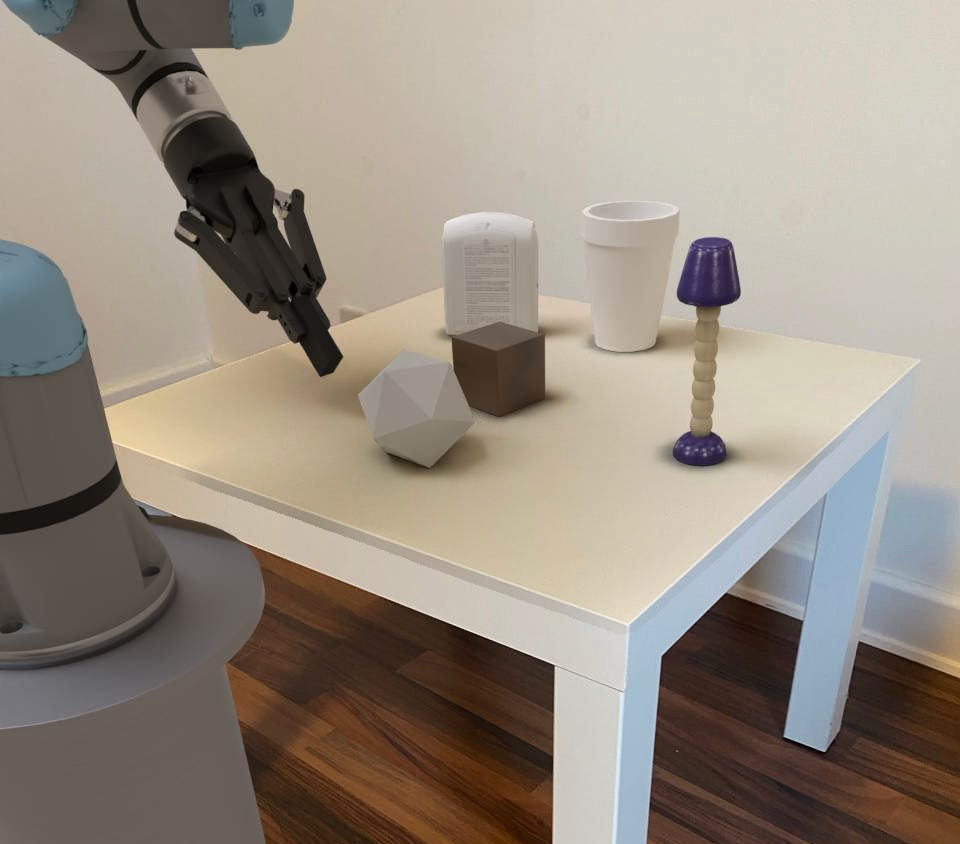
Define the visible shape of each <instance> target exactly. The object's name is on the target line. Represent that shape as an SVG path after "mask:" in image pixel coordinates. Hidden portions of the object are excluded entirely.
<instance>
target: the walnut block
mask: <svg viewBox="0 0 960 844" xmlns="http://www.w3.org/2000/svg"><path fill="white" fill-rule="evenodd" d="M451 353H452V368H453V370H454V373H455V375H456V377H457V380H458V382H459V384H460V387H461V389H462V391H463V394H464V396H465V398H466V400H467V403H468V405H469V407H472V408H475V409H477V410H480V411H483V412H485V413H488V414H490V415H494V416H497V417H501V416H504V415H506V414H509V413H512V412H515V411H517V410H519V409H521V408H524V407H526V406H530V405H532V404H534V403H538V402H539V401H542V400H544V399H546V334H545V333H541V332H539V331H538V332H535V331H531V330H528V329H524V328H521V327H517V326H514V325H510V324H507V323H503V322H496V323H493V324H490V325H487V326H484V327H481V328H478V329H475V330H472V331H468V332H465V333H462V334H459V335H452V336H451Z"/></svg>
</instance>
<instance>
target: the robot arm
mask: <svg viewBox="0 0 960 844" xmlns="http://www.w3.org/2000/svg"><path fill="white" fill-rule="evenodd" d="M1 1H2V3H3V4H4V5H5V7H6V8H7V9H8V10H9V12H11V13H12V14H14V15H15V16H16V17H17V18H19V19H20V20H21V21H23V22H24V23H25V24H26V25H28V26H29V28H30V29H32V31H33V32H34V33H35V34H36V35H38V36H41V37H43V38H44V39H47V40H48V41H50V42H51V43H53V44H55V45H56V46H57V47H59V48H60V49H62V50H64V51H65V52H67V53H69V54H70V55H72V56H74V57H75V58H76V59H78V60H79V61H81V62H83V63H84V64H85V65H86V66H89V67H90V68H91V69H92V70H94V71H95V72H97V74H100V75H101V76H103V77H105V79H107V80H109V81H110V82H111V83H112V84H113V85H114V86H115V87H116V88H117V90H118V91H119V92H120V94H121V95H122V97H123V100H124V101H125V102H126V104H127V106H128V107H129V109H130V111H131V112H132V114H133V116H134V117H135V119H136V121H137V123H138V124H139V126H140V128H141V130H142V131H143V133H144V135H145V136H146V138H147V140H148V142H149V144H150V145H151V147H152V149H153V150H154V152H155V154H156V156H157V158H158V159H159V161H160V162H161V163H162V164H163V166H164V168H165V170H166V172H167V174H168V175H169V178H170V179H171V181H172V182H173V184H174V186H175V187H176V190H177V191H178V192H179V194H180V196H181V197H182V198H183V200H185V208H186V210H182V211H180V212H179V215H178V218H177V222H176V225H175V228H174V232H173V234H174V237H175V238H176V239H177V240H178V241H180V242H181V243H183V244H185V245H186V246H188V247H189V248H191V249H192V250H193V251H195V252H196V253H197V254H198V255H199V257H200V258H201V259H202V260H203V261H204V262H205V263H206V264H207V266H208V267H209V268H210V269H211V270H212V271H213V273H215V275H216V276H217V277H218V278H219V279H220V280H221V281H222V282H223V284H225V286H226V287H227V288H228V289H229V290H230V291H231V293H232V294H234V296H235V298H237V299H238V300H239V301H240V303H241V304H242V305H243V306H244V307H245V308H246V309H247V311H248V312H250V313H251V314H254V315H258V314H260V313H261V312H267V314H266V317H267V319H269V320H271V321H278V322H279V323H278V324H279V325H280V327H281V328H282V330H283V331H284V333H285V335H286V336H287V338H288V339H289V341H291V343H292V344H293V345H295V344H299V345H300V347H301V348H302V350H303V352H304V353H305V354H306V356H307V358H308V360H309V362H310V363H311V365H312V366H313V368H314V371H315V372H316V373H317V375H318V377H319V378H322V377H325V376H328V375H331V374H334V373H335V371H336V370H337V368H338V366H339V365H340V363H341V362H342V360H343V358H344V355H343V354H342V352H341V350H340V348H339V347H338V345H337V344H336V342H335V340H334V338H333V337H332V335H331V333H330V331H329V330H330V328H331V321H330V318H329V317H328V316H327V313H326V312H325V310H324V309H323V307H322V305H321V304H320V302H319V300H318V297H319V294H320V293H321V292H322V289H323V287H324V285H325V283H326V282H327V275H326V272H325V269H324V266H323V263H322V261H321V258H320V254H319V252H318V249H317V246H316V243H315V240H314V237H313V234H312V230H311V228H310V225H309V222H308V219H307V215H306V213H305V199H306V198H305V197H306V196H305V193H304V192H303V191H302V190H301V189H299V188H293V190H291V192H290V193H288V192H285V191H282V190H279V189H277V188H275V185H274V183H273V181H272V180H271V179H269V178H268V177H267V176H265V174H263V172H262V171H261V170H260V167H259V165H258V161H257V158H256V155H255V153H254V151H253V149H252V148H251V146H250V144H249V143H248V141H247V139H246V138H245V135H244V134H243V132H242V131H241V129H240V127H239V126H238V124H237V123H236V122H235V121H234V119H233V117H232V115H231V113H230V111H229V109H228V108H227V105H225V103H224V101H223V99H222V98H221V96H220V94H219V93H218V91H217V89H216V88H215V86H214V84H213V82H212V81H211V79H210V78H209V76H208V74H207V73H206V71H205V70H204V68H203V66H202V64H201V63H200V60H199V59H198V58H197V55H196V54H195V52H194V51H193V49H194V50H195V49H234V50H236V51H242V49H244V48H248V47H249V48H250V47H259V46H271V45H275V44H278V43H279V42H281V41H282V40H283V39H284V38H285V37H286V36H287V34H288V33H289V31H290V28H291V25H292V21H293V20H292V18H293V14H294V13H293V12H294V8H295V0H1ZM274 207H275V209H276V210H277V214H278V219H279V220H281V221H283V228H284V229H283V230H284V231H285V235H286V238H287V240H286V238H285V237H284V235H283V233H282V232H281V230H280V228H279V222H278V219H277V217H276V216H275V215H276V214H274ZM287 241H288V242H287ZM87 331H88V330H87V328H86V325H85V322H84V321H83V318H82V316H81V315H80V314H79V311H78V308H77V306H76V302H75V299H74V297H73V293H72V290H71V288H70V285H69V281H68V279H67V278H66V276H65V275H64V273H63V271H62V269H61V268H60V266H59V265H58V264H57V263H56V262H55V261H54V260H52V259H51V258H50V257H49V256H47V255H46V254H45V253H44V252H41V251H39V250H37V249H35V248H34V247H31V246H29V245H25V244H22V243H20V242H19V243H18V242H15V241H11V240H6V239H1V238H0V669H12V670H18V669H36V668H45V667H51V666H57V665H62V664H67V663H71V662H75V661H79V660H82V659H86V658H89V657H92V656H95V655H98V654H101V653H103V652H106V651H108V650H111V649H113V648H115V647H117V646H119V645H122V644H123V643H125V642H127V641H129V640H131V639H133V638H134V637H136V636H138V635H139V634H141V633H143V632H144V631H145V630H147V629H148V628H150V627H151V626H152V625H153V624H154V623H156V622H157V621H158V620H159V619H160V618H161V617H162V616H163V615H164V614H165V613H166V611H167V610H168V609H169V608H170V606H171V604H172V603H173V601H174V599H175V596H176V593H177V580H176V575H175V571H174V567H173V564H172V561H171V559H170V557H169V554H168V552H167V550H166V548H165V546H164V545H163V543H162V542H161V540H160V539H159V537H158V536H157V534H156V533H155V531H154V530H153V528H152V527H151V525H150V524H149V522H148V521H147V519H148V520H150V521H152V519H151V518H150V516H149V515H150V514H149V513H148V512H147V510H146V508H144V507H143V506H141V505H138V504H137V503H136V501H135V500H134V498H133V497H132V495H131V494H130V493H129V490H128V489H127V488H126V486H125V484H124V481H123V477H122V474H121V471H120V467H119V463H118V458H117V454H116V451H115V447H114V443H113V439H112V435H111V431H110V427H109V423H108V418H107V415H106V411H105V406H104V404H103V403H104V402H103V399H102V394H101V391H100V387H99V383H98V379H97V375H96V371H95V367H94V363H93V359H92V355H91V351H90V347H89V338H88V332H87ZM148 514H149V515H148ZM152 522H153V521H152Z"/></svg>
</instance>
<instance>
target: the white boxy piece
mask: <svg viewBox="0 0 960 844" xmlns="http://www.w3.org/2000/svg"><path fill="white" fill-rule="evenodd" d="M440 244H441V263H442V264H441V265H442V267H441V268H442V286H443V288H442V289H443V307H444V308H443V309H444V326H445V327H444V329H445V333H446V334H447V335H448V336H456V335H459V334H462V333H465V332H468V331H472V330H475V329H478V328H481V327H484V326H487V325H490V324H493V323H496V322H503V323H507V324H510V325H514V326H517V327H521V328H524V329H528V330H531V331H535V332H538V333H539V237H538V234H537V231H536V226H535V221H533V220H532V219H529V218H526V217H524V216H520V215H517V214H513V213H506V212H501V211H482V212H473V213H472V212H471V213H467V214H463V215H460V216H457V217H454V218H451V219H449V220H447V221H446V222H444V224H443V233H442V236H441V243H440Z"/></svg>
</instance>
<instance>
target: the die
mask: <svg viewBox="0 0 960 844" xmlns="http://www.w3.org/2000/svg"><path fill="white" fill-rule="evenodd" d="M357 396H358V399H359V402H360V405H361V408H362V411H363V414H364V417H365V419H366V423H367V425H368V428H369V431H370V434H371V436H372V440H373V441H375V442H376V443H377V445H378V446H379V448H381V449H382V450H383V451H384V452H385V453H386V454H390V455H392V456H395V457H398V458H401V459H404V460H406V461H409V462H411V463H413V464H417V465H420V466H423V467H425V468H427V469H430V468H431V467H432V466H433V465H434V464H436V463H437V462H438V461H439V460H440V459H441V458H442V457H443V456H444V455H445V454H446V453H447V452H448V451H449V450H450V449H451V448H452V447H453V446H454V445H455V444H456V443H457V442H458V440H460V439H461V438H462V437H463V436H464V435H465V434H466V433H467V432H468V431H469V430H470V429H471V428H472V427H473V426H474V425H475V424H476V423H477V422H476V419H475V417H474V415H473V412H472V410H471V408H470V407H471V406H469V405H468V403H467V400H466V398H465V396H464V394H463V391H462V389H461V387H460V384H459V382H458V380H457V377H456V375H455V373H454V370H453V365H452V363H451V361H448V360H445V359H441V358H437V357H432V356H430V355H426V354H422V353H419V352H415V351H413V350H412V351H411V350H408V349H405V348H403V349H402V350H401V351H400V352H399V353H398V354H397V355H396V356H395V357H394V358H393V359H392V360H391V361H390V362H389V363H388V364H387V365H386V366H384V368H383V369H382V370H381V371H380V372H379V373H378V374H377V375H376V376H375V377H374V378H373V379H372V380H371V381H370V382H369V383H368V384H367V385H366V386H365V387H364V388H363V389H362V390H361V391H360V392H359V393H358V394H357Z"/></svg>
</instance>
